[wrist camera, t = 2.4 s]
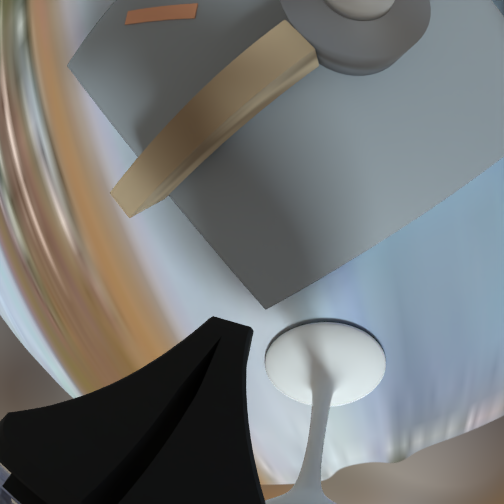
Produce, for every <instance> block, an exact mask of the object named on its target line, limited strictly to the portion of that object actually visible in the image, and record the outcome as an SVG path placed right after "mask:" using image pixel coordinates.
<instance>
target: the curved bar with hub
mask: <svg viewBox="0 0 504 504" xmlns="http://www.w3.org/2000/svg"><path fill="white" fill-rule="evenodd" d="M280 2H281V5H282V7H283V9H284V11H285V13H286V15H287V17H288V19H289V22H290V24H291V25H290V24H289V23H288V22H287V21H286V20H284V21H282V22H281V23H279V24H278V25H277V26H275V27H274V28H273V29H271V30H270V31H269V32H268V33H266V34H265V35H264V36H262V37H261V38H260V39H259V40H257V41H256V42H255V43H254V44H252V45H251V46H250V47H249V48H247V49H246V50H245V51H244V52H243V53H241V54H240V55H239V56H238V57H237V58H236V59H234V60H233V61H232V62H231V63H230V64H229V65H228V66H226V67H225V68H224V69H223V70H222V71H221V72H220V73H219V74H217V75H216V76H215V77H214V78H213V79H212V80H211V81H210V82H209V83H208V84H207V85H206V86H205V87H204V88H202V89H201V90H200V91H199V92H198V93H197V94H196V95H195V96H194V97H193V98H192V99H191V100H190V101H189V102H188V103H187V104H186V105H185V106H184V107H183V108H182V109H181V110H180V111H179V112H178V113H177V115H176V116H175V117H174V118H173V119H172V120H171V121H170V122H169V123H168V124H167V125H166V126H165V127H164V128H163V129H162V131H161V132H160V133H159V134H158V135H157V136H156V137H155V138H154V140H153V141H152V142H151V143H150V144H149V145H148V146H147V148H146V149H145V150H144V151H143V152H142V153H141V155H140V156H139V157H138V158H137V159H136V161H135V162H134V163H133V164H132V165H131V167H130V168H129V169H128V170H127V172H126V173H125V174H124V175H123V177H122V178H121V179H120V180H119V182H118V183H117V184H116V186H115V187H114V188H113V189H112V191H111V192H110V194H111V195H112V197H113V198H114V199H115V200H116V202H117V203H118V204H119V206H120V207H121V208H122V209H123V211H124V212H125V213H126V215H127V216H128V217H129V218H131V217H133V216H135V215H136V214H138V213H140V212H142V211H143V210H145V209H147V208H149V207H151V206H152V205H154V204H156V203H158V202H160V201H162V200H163V199H165V198H166V197H167V196H168V195H169V194H170V193H171V192H172V191H173V190H174V189H175V188H176V187H177V186H178V185H179V184H180V183H181V182H182V181H183V180H184V179H185V178H186V177H187V176H188V175H189V174H190V173H191V172H193V171H194V170H195V169H196V168H197V167H198V166H199V165H200V164H201V163H202V162H203V161H204V160H205V159H206V158H207V157H209V156H210V155H211V154H212V153H213V152H214V151H215V150H216V149H217V148H218V147H219V146H221V145H222V144H223V143H224V142H225V141H226V140H227V139H228V138H230V137H231V136H232V135H233V134H234V133H235V132H236V131H238V130H239V129H240V128H241V127H242V126H243V125H245V124H246V123H247V122H248V121H249V120H250V119H252V118H253V117H254V116H255V115H256V114H258V113H259V112H260V111H261V110H262V109H264V108H265V107H266V106H267V105H269V104H270V103H271V102H272V101H274V100H275V99H276V98H277V97H279V96H280V95H281V94H282V93H284V92H285V91H286V90H288V89H289V88H290V87H291V86H293V85H294V84H295V83H297V82H298V81H299V80H301V79H302V78H303V77H305V76H306V75H307V74H309V73H310V72H311V71H313V70H314V69H316V68H317V67H318V66H319V64H320V65H322V66H324V67H325V68H327V69H330V70H332V71H334V72H337V73H340V74H345V75H351V76H366V75H372V74H376V73H379V72H381V71H383V70H385V69H387V68H389V67H390V66H391V65H392V64H394V63H395V62H396V61H397V60H398V59H399V58H400V57H401V56H402V55H404V54H405V53H406V52H407V51H408V50H409V49H410V48H411V47H412V46H414V45H415V44H416V43H417V42H418V41H419V40H420V39H421V38H422V36H423V35H424V33H425V32H426V30H427V28H428V25H429V22H430V17H431V6H430V0H280Z"/></svg>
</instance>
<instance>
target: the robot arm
mask: <svg viewBox="0 0 504 504" xmlns="http://www.w3.org/2000/svg"><path fill="white" fill-rule="evenodd" d="M252 336H253V329H252V328H251V327H249V326H245V325H242V324H238V323H235V322H231V321H228V320H224V319H221V318H217V317H214V316H213V317H211V318H209V319H208V320H207V321H206V322H205V323H204V324H202V325H201V326H200V327H199V328H198V329H196V330H195V331H194V332H193V333H192V334H190V335H189V336H188V337H186V338H185V339H184V340H183V341H181V342H180V343H178V344H177V345H176V346H174V347H173V348H172V349H170V350H169V351H167V352H166V353H165V354H163V355H162V356H160V357H159V358H157V359H155V360H154V361H152V362H151V363H149V364H147V365H146V366H144V367H143V368H141V369H139V370H138V371H136V372H134V373H132V374H130V375H129V376H127V377H125V378H123V379H121V380H119V381H117V382H115V383H113V384H110V385H108V386H106V387H103V388H101V389H99V390H96V391H94V392H91V393H89V394H86V395H83V396H81V397H78V398H74V399H71V400H68V401H64V402H61V403H57V404H54V405H50V406H46V407H41V408H35V409H29V410H24V411H17V412H9V413H8V414H7V415H6V416H5V417H4V418H3V419H2V420H1V421H0V463H2V465H3V466H5V467H6V468H7V469H8V470H9V471H10V472H11V475H10V474H9V473H8V472H7V471H6V470H5V469H4V468H3V467H2V466H1V465H0V504H14V503H12V501H11V498H12V499H13V500H14V501H15V502H17V503H18V504H266V503H265V500H264V496H263V493H262V489H261V486H260V481H259V477H258V473H257V469H256V464H255V460H254V455H253V450H252V444H251V438H250V430H249V423H248V412H247V397H246V366H247V361H248V356H249V351H250V346H251V341H252Z"/></svg>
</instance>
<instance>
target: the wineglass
mask: <svg viewBox="0 0 504 504" xmlns="http://www.w3.org/2000/svg"><path fill="white" fill-rule="evenodd" d="M265 368H266V372H267V375H268V377H269V379H270V381H271V382H272V383H273V385H274V386H275V387H276V388H277V389H278V390H279V391H280V392H282V393H283V394H284V395H286V396H288V397H289V398H291V399H293V400H296V401H298V402H301V403H304V404H308V405H312V413H311V423H310V431H309V437H308V443H307V448H306V453H305V457H304V461H303V464H302V468H301V471H300V474H299V477H298V479H297V481H296V483H295V485H294V486H293V488H292V489H291V490H290V491H289V492H287V493H285V494H283V495H281V496H278V497H275V498H272V499H269V500H266V501H265V503H266V504H336V503H335V502H333V501H331V500H330V499H328V498H327V497H326V496H325V495H324V493H323V491H322V488H321V462H322V453H323V445H324V438H325V432H326V425H327V420H328V414H329V409H330V406H339V405H344V404H348V403H351V402H354V401H356V400H359V399H361V398H363V397H364V396H366V395H367V394H369V393H370V392H371V391H372V390H373V389H375V387H376V386H377V385H378V384H379V383H380V381H381V380H382V378H383V376H384V373H385V369H386V358H385V354H384V352H383V349H382V348H381V346H380V345H379V343H378V342H377V341H376V340H375V339H374V338H373V337H371V336H370V335H369V334H367V333H366V332H364V331H362V330H360V329H358V328H356V327H353V326H350V325H346V324H341V323H334V322H317V323H310V324H305V325H301V326H298V327H296V328H293V329H291V330H289V331H287V332H285V333H284V334H282V335H281V336H279V337H278V338H277V339H276V340H275V341H274V342H273V343H272V345H271V346H270V347H269V349H268V351H267V354H266V358H265Z"/></svg>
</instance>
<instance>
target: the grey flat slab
mask: <svg viewBox="0 0 504 504" xmlns="http://www.w3.org/2000/svg"><path fill="white" fill-rule="evenodd" d="M430 6H431V17H430V22H429V25H428V28H427V30H426V32H425V33H424V35H423V36H422V38H421V39H420V40H419V41H418V42H417V43H416V44H415V45H414V46H412V47H411V48H410V49H409V50H408V51H407V52H406V53H405V54H404V55H402V56H401V57H400V58H399V59H398V60H397V61H396V62H395V63H394V64H392V65H391V66H390V67H389V68H387V69H385V70H383V71H381V72H379V73H376V74H372V75H366V76H351V75H345V74H340V73H337V72H334V71H332V70H330V69H327V68H325V67H324V66H322V65H320V64H319V66H318V67H317V68H316V69H314V70H313V71H311V72H310V73H309V74H307V75H306V76H305V77H303V78H302V79H301V80H299V81H298V82H297V83H295V84H294V85H293V86H291V87H290V88H289V89H288V90H286V91H285V92H284V93H282V94H281V95H280V96H279V97H277V98H276V99H275V100H274V101H272V102H271V103H270V104H269V105H267V106H266V107H265V108H264V109H262V110H261V111H260V112H259V113H258V114H256V115H255V116H254V117H253V118H252V119H250V120H249V121H248V122H247V123H246V124H245V125H243V126H242V127H241V128H240V129H239V130H238V131H236V132H235V133H234V134H233V135H232V136H231V137H230V138H228V139H227V140H226V141H225V142H224V143H223V144H222V145H221V146H219V147H218V148H217V149H216V150H215V151H214V152H213V153H212V154H211V155H210V156H209V157H207V158H206V159H205V160H204V161H203V162H202V163H201V164H200V165H199V166H198V167H197V168H196V169H195V170H194V171H193V172H191V173H190V174H189V175H188V176H187V177H186V178H185V179H184V180H183V181H182V182H181V183H180V184H179V185H178V186H177V187H176V188H175V189H174V190H173V191H172V192H171V193H170V194H169V196H170V197H171V199H172V200H173V201H174V202H175V204H176V205H177V206H178V207H179V208H180V210H181V211H182V212H183V213H184V214H185V216H186V217H187V218H188V219H189V220H190V222H191V223H192V224H193V225H194V226H195V228H196V229H197V230H198V231H199V232H200V234H201V235H202V236H203V237H204V238H205V240H206V241H207V242H208V243H209V244H210V246H211V247H212V248H213V249H214V250H215V251H216V253H217V254H218V255H219V256H220V257H221V259H222V260H223V261H224V262H225V263H226V264H227V266H228V267H229V268H230V269H231V270H232V271H233V273H234V274H235V275H236V276H237V277H238V278H239V280H240V281H241V282H242V283H243V284H244V285H245V286H246V288H247V289H248V290H249V291H250V292H251V293H252V295H253V296H254V297H255V298H256V299H257V300H258V301H259V303H260V304H261V305H262V306H263V307H264V308H265V309H268V308H269V307H271V306H273V305H275V304H277V303H278V302H280V301H282V300H284V299H286V298H287V297H289V296H291V295H293V294H294V293H296V292H298V291H300V290H301V289H303V288H305V287H307V286H308V285H310V284H312V283H314V282H315V281H317V280H319V279H320V278H322V277H324V276H326V275H327V274H329V273H331V272H332V271H334V270H336V269H337V268H339V267H341V266H342V265H344V264H346V263H347V262H349V261H351V260H352V259H354V258H356V257H357V256H359V255H360V254H362V253H364V252H365V251H367V250H368V249H370V248H372V247H373V246H375V245H376V244H378V243H380V242H381V241H383V240H384V239H386V238H387V237H389V236H391V235H392V234H394V233H395V232H397V231H398V230H400V229H401V228H403V227H405V226H406V225H408V224H409V223H411V222H412V221H414V220H415V219H417V218H418V217H420V216H421V215H423V214H424V213H426V212H427V211H429V210H430V209H432V208H433V207H435V206H436V205H437V204H439V203H440V202H442V201H443V200H445V199H446V198H448V197H449V196H450V195H452V194H453V193H455V192H456V191H458V190H459V189H460V188H462V187H463V186H465V185H466V184H467V183H469V182H470V181H472V180H473V179H474V178H476V177H477V176H478V175H480V174H481V173H483V172H484V171H485V170H487V169H488V168H489V167H491V166H492V165H493V164H495V163H496V162H497V161H499V160H500V159H501V158H503V157H504V16H503V15H502V13H501V12H500V10H499V9H498V8H497V7H496V5H495V4H494V3H493V1H492V0H430ZM284 20H286V21H287V22H288V23H289V24H290V22H289V19H288V17H287V15H286V13H285V11H284V9H283V7H282V5H281V2H280V0H116V1H115V2H114V3H113V4H112V5H111V7H110V8H109V9H108V10H107V11H106V13H105V14H104V15H103V16H102V17H101V19H100V20H99V21H98V23H97V24H96V25H95V26H94V28H93V29H92V30H91V32H90V33H89V34H88V36H87V37H86V39H85V40H84V41H83V43H82V44H81V46H80V47H79V48H78V50H77V51H76V53H75V54H74V56H73V57H72V59H71V60H70V62H69V63H68V65H67V66H68V68H69V69H70V70H71V72H72V73H73V74H74V76H75V77H76V78H77V80H78V81H79V82H80V84H81V85H82V86H83V87H84V89H85V90H86V91H87V93H88V94H89V95H90V97H91V98H92V99H93V101H94V102H95V103H96V104H97V106H98V107H99V108H100V110H101V111H102V112H103V114H104V115H105V116H106V117H107V119H108V120H109V121H110V123H111V124H112V125H113V126H114V128H115V129H116V130H117V131H118V133H119V134H120V135H121V137H122V138H123V139H124V140H125V142H126V143H127V144H128V145H129V147H130V148H131V149H132V150H133V152H134V153H135V154H136V155H137V157H139V156H140V155H141V153H142V152H143V151H144V150H145V149H146V148H147V146H148V145H149V144H150V143H151V142H152V141H153V140H154V138H155V137H156V136H157V135H158V134H159V133H160V132H161V131H162V129H163V128H164V127H165V126H166V125H167V124H168V123H169V122H170V121H171V120H172V119H173V118H174V117H175V116H176V115H177V113H178V112H179V111H180V110H181V109H182V108H183V107H184V106H185V105H186V104H187V103H188V102H189V101H190V100H191V99H192V98H193V97H194V96H195V95H196V94H197V93H198V92H199V91H200V90H201V89H202V88H204V87H205V86H206V85H207V84H208V83H209V82H210V81H211V80H212V79H213V78H214V77H215V76H216V75H217V74H219V73H220V72H221V71H222V70H223V69H224V68H225V67H226V66H228V65H229V64H230V63H231V62H232V61H233V60H234V59H236V58H237V57H238V56H239V55H240V54H241V53H243V52H244V51H245V50H246V49H247V48H249V47H250V46H251V45H252V44H254V43H255V42H256V41H257V40H259V39H260V38H261V37H262V36H264V35H265V34H266V33H268V32H269V31H270V30H271V29H273V28H274V27H275V26H277V25H278V24H279V23H281V22H282V21H284ZM290 25H291V24H290Z"/></svg>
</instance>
